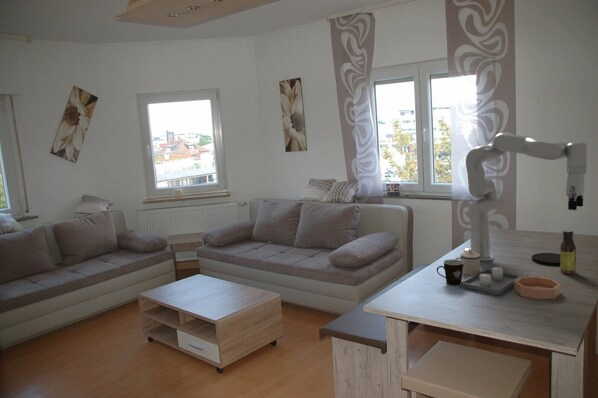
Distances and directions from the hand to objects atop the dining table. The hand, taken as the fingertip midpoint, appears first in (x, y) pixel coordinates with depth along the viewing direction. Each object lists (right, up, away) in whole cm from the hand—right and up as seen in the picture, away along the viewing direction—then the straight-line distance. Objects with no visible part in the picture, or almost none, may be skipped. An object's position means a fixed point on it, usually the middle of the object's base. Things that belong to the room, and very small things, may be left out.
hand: (575, 207), depth 203 cm
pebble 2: (-34, -33, +2) cm, 47 cm away
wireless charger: (+3, -28, +26) cm, 38 cm away
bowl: (-25, -35, -14) cm, 45 cm away
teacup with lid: (-43, -32, +16) cm, 56 cm away
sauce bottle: (0, -31, +7) cm, 31 cm away
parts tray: (-39, -34, -2) cm, 52 cm away
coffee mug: (-55, -35, +4) cm, 66 cm away
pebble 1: (-43, -34, -6) cm, 55 cm away
